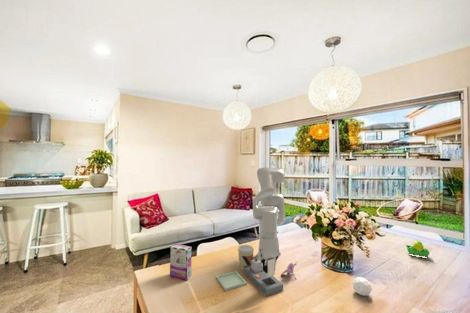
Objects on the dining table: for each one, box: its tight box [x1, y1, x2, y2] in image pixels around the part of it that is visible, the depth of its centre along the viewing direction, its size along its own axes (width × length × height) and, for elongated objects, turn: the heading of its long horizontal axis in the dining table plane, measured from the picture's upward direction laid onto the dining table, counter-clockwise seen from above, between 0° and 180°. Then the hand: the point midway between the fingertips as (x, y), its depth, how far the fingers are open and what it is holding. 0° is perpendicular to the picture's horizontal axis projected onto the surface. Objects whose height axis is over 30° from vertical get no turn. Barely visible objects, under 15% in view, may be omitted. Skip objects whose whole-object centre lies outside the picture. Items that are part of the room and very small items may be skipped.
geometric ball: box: [352, 276, 373, 297], centre depth 99 cm, size 8×8×8 cm
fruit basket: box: [405, 240, 431, 257], centre depth 140 cm, size 11×9×11 cm
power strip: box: [243, 265, 284, 297], centre depth 108 cm, size 22×10×4 cm, turn 26°
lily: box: [280, 261, 298, 280], centre depth 112 cm, size 12×12×10 cm
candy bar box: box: [169, 243, 193, 281], centre depth 113 cm, size 11×5×16 cm, turn 70°
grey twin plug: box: [251, 256, 262, 274], centre depth 113 cm, size 4×4×10 cm
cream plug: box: [264, 258, 276, 277], centre depth 102 cm, size 4×4×10 cm
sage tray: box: [216, 270, 247, 292], centre depth 108 cm, size 12×12×2 cm
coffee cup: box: [237, 244, 255, 271], centre depth 122 cm, size 9×9×12 cm
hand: (269, 270), depth 102 cm, fingers closed on cream plug, 4 cm apart
